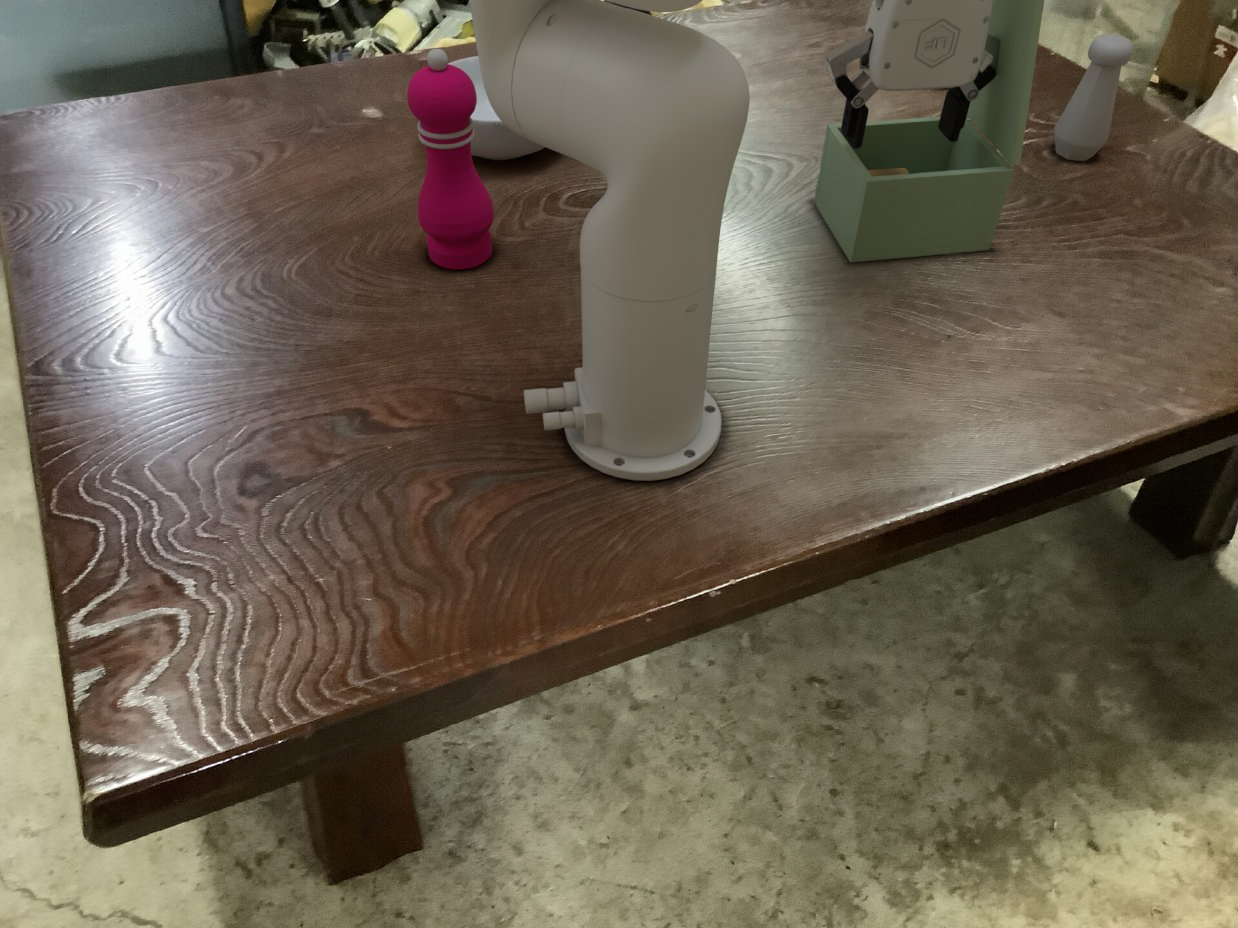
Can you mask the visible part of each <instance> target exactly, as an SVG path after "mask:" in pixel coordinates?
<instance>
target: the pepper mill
mask: <svg viewBox="0 0 1238 928" xmlns="http://www.w3.org/2000/svg"><path fill="white" fill-rule="evenodd" d="M426 61H427V64H428V65H426V66H424V67H422V68H420V69H419V70H417V71H416V72H415V73H414V74H413V75H412V77H411V78H410V80H409V83H408V86H407V93H406V94H407V96H406V97H407V105H408V108H409V110H410V112H411V113H412V115H413V116H414V117H415V118H416V119H417V120H418V121H417V126H416V128H417V129H416V130H417V131H418V140H419V141H420V143H421V144H422V145H424V149H425V153H426V169H425V170H426V172H425V175H424V179H423V182H422V186H421V189H420V193H419V197H418V201H417V202H418V204H417V218H418V223H419V226H420V227H421V229H422V231H424V232H425V233H426V234H427V237H426V244H427V250H428V251H427V252H428V257H429V258H430V260H431V261H432V262H433V263H434V264H435V265H437V266H439V267H442V268H444V269H448V270H468V269H472V268H475V267H478V266H481V265H482V264H484V263H486V261H488V260H489V259H490V258H491V256H492V253H493V242H492V233H491V231H490V229H491V227H492V225H493V222H494V219H495V212H494V205H493V199H492V198H491V196H490V193H489V191H488V189H487V187H486V185H485V184H484V182H483V181H482V179H481V178H480V176H479V173H478V172H477V170H476V167H475V165H474V162H473V161H474V160H473V155H471V140H472V139H473V138H474V135H475V132H474V130H473V126H474V122H473V120H472V118H471V117H470V116H471V115H472V114H473V112H474V110H475V108H476V103H477V95H476V91H475V87H474V84H473V82H472V80H471V79H470V77H469V76H468V75H467V74H466V73H465V72H464V71H463V70H461V69H460V68H458V67H456V66H453V65H450V64H448V63H449V57H448V55H447V53H446V52H445V51H444V50H443V49H441V48H433V49H430V51H429V52H428V53H427V56H426Z"/></svg>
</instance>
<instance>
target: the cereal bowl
mask: <svg viewBox="0 0 1238 928" xmlns="http://www.w3.org/2000/svg"><path fill="white" fill-rule="evenodd" d="M448 64H450V65H453V66H456V67H458V68H460V69H461V70H463V71H464V72H465V73H466V74H467V75H468V76H469V77H470V79H471V80H472V82H473V84H474V87H475V91H476V95H477V103H476V108H475V110H474V112H473V114H472V115H471V116H470V117H471V118H472V120H473V122H474V126H473V130H474V132H475V135H474V138H473V139H472V140H471V155H472V157H473V156H474V157H479V158H482V159H483V158H484V159H486V160H494V161H507V160H515V159H517V158H520V157H524V156H527V155H531V154H533V153H537V152H539V151H541V150H543V149H545V148H546V147H544V146H542V145H539V144H537V143H535V142H533V141H531V140H528V139H526V138H524V137H522V136H521V135H519V134H517V133H515V132H514V131H512V130H511V129H510V128H508V127H507V126H506V125H505V124H504V123H503V122H502V121H501V120H500V119H499V117H498V116H497V115H496V113H495V111H494V110H493V108H492V106H491V104H490V102H489V99H488V96H487V94H486V91H485V87H484V83H483V79H482V75H481V70H480V64H479V58H478V55H474V56H469V57H464V58H460V59H457V60H454V61H451V62H448Z"/></svg>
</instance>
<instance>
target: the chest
mask: <svg viewBox="0 0 1238 928" xmlns="http://www.w3.org/2000/svg"><path fill="white" fill-rule="evenodd" d="M940 117H941V115H940V116H927V117H916V118H915V117H913V118H899V119H886V120H885V119H884V120H873V121H867V122H866V127H865V132H864V137H863V142H862V146H861V147H860V148H857V149H853V147H852V146H851V145H850V143H849V142H848V141H847V139H846V138H845V136H844V135H843V134H842V130H841V126H842V123H833V124H831V123H830V124H827V125H826V130H825V136H824V141H823V142H824V143H823V148H822V154H821V160H820V165H819V171H818V176H817V177H818V178H817V183H816V189H815V194H814V195H815V196H814V202H813V203H814V205H815V206H816V208H817V210H818V211H819V213H820V215H821V217H822V218H823V219H824V221H825V223H826V225H827V226H828V228H829V229H830V231H831V233H832V235H833V236H834V238H835V239H836V241H837V243H838V245H839V246H840V248H841V249H842V251H843V252H844V254H845V256H846V257H847V259H848V261H849V262H850V263H860V262H861V263H862V262H872V261H883V260H893V259H894V260H895V259H905V258H916V257H927V256H928V257H929V256H937V255H950V254H961V253H971V252H972V253H973V252H982V251H989V250H990V248H991V244H992V242H993V239H994V236H995V233H996V230H997V226H998V224H999V220H1000V217H1001V215H1002V211H1003V208H1004V204H1005V202H1006V198H1007V195H1008V192H1009V189H1010V186H1011V183H1012V181H1013V176H1014V173H1015V171H1016V169H1015V168H1014V167H1013V165H1011V163H1010V162H1009V161H1008V160H1007V159H1006V158H1005V157H1004V156H1003V155H1002V154H1001V153H1000V152H999V151H998V150H997V148H996V147H995V146H994V145H993V144H992V143H991V142H990V141H989V140H988V139H987V138H986V137H985V136H984V135H983V134H982V132H981V131H980V130H979V129H978V128H977V127H976V126H975V125H974V124H973V123H972V122H971V121H970V120H969V119H968V117H966V120H965V124H964V127H963V128H962V129H961V130H960V134H959V138H958V141H957V142H950V141H949V140H948V139H947V138H946V137H945V136H944V134H943V133H942V132H941V131H940V130H939V129H938V124H939V121H940ZM893 168H906V169H907V171H908V172H909V173H910V174H902V175H889V176H877V177H872V176H871V174H870V173H869V172H868V170H879V169H893Z"/></svg>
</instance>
